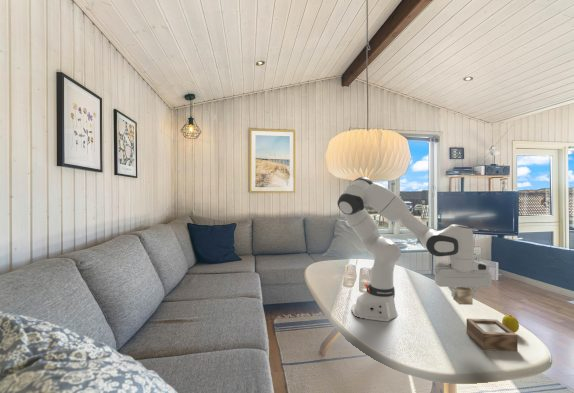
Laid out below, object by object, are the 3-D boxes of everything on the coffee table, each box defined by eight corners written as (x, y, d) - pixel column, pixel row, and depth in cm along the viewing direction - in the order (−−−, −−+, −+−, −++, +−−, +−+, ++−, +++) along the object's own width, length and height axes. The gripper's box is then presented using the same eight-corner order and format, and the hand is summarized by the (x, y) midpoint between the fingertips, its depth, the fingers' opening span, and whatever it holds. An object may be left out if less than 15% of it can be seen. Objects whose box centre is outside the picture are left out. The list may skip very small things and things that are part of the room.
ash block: (459, 304, 105) (458, 289, 105) (453, 299, 110) (452, 285, 110) (472, 304, 104) (472, 290, 104) (466, 299, 109) (465, 285, 109)
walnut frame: (483, 349, 101) (483, 333, 101) (466, 332, 113) (466, 318, 113) (517, 350, 100) (517, 335, 100) (496, 333, 112) (496, 319, 112)
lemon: (501, 333, 112) (501, 315, 112) (503, 328, 116) (502, 310, 116) (518, 338, 108) (518, 319, 108) (519, 332, 112) (519, 314, 112)
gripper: (437, 265, 105) (438, 299, 106) (493, 265, 102) (494, 300, 102) (431, 261, 111) (432, 293, 112) (484, 261, 108) (485, 294, 109)
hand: (462, 296), depth 107 cm, fingers closed on ash block, 5 cm apart
